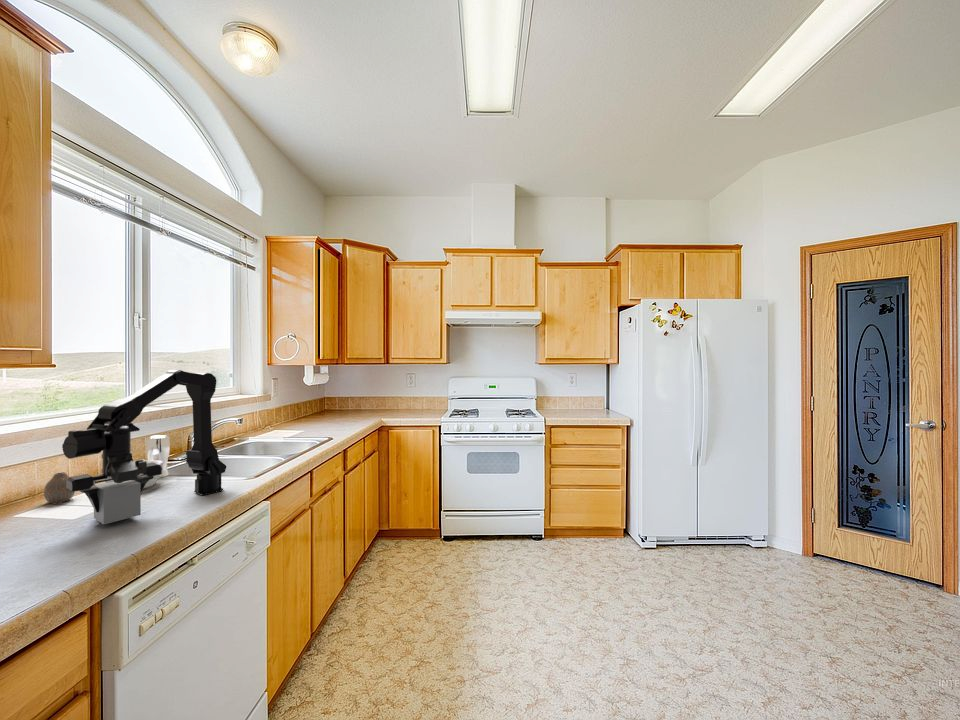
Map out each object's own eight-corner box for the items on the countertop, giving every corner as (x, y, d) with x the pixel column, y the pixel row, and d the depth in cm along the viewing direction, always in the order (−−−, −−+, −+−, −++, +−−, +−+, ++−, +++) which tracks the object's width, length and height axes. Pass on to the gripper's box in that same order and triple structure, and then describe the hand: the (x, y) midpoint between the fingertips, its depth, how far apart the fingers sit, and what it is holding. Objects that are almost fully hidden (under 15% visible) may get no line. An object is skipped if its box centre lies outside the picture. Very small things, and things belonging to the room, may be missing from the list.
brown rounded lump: (80, 499, 129) (80, 471, 129) (52, 506, 123) (52, 477, 123) (67, 496, 131) (67, 469, 131) (38, 503, 125) (38, 475, 125)
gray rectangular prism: (130, 509, 116) (129, 478, 116) (140, 514, 112) (140, 482, 112) (93, 518, 110) (93, 485, 110) (103, 524, 106) (103, 490, 106)
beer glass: (150, 479, 150) (151, 438, 150) (143, 476, 154) (143, 437, 154) (173, 475, 156) (173, 435, 156) (165, 472, 160) (165, 434, 160)
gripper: (79, 461, 99) (79, 525, 99) (170, 447, 115) (170, 503, 115) (65, 455, 105) (65, 516, 105) (153, 442, 121) (153, 495, 121)
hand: (116, 507), depth 111 cm, fingers closed on gray rectangular prism, 8 cm apart
